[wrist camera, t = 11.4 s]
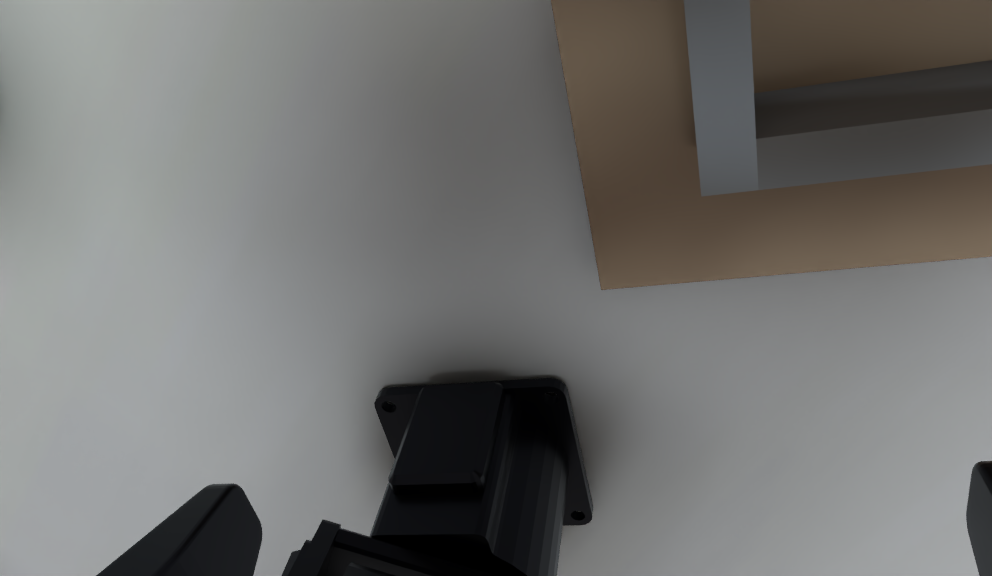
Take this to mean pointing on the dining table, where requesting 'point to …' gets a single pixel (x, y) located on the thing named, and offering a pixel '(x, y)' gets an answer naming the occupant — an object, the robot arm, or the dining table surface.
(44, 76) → the dining table surface
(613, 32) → the duct collar
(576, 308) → the dining table surface
